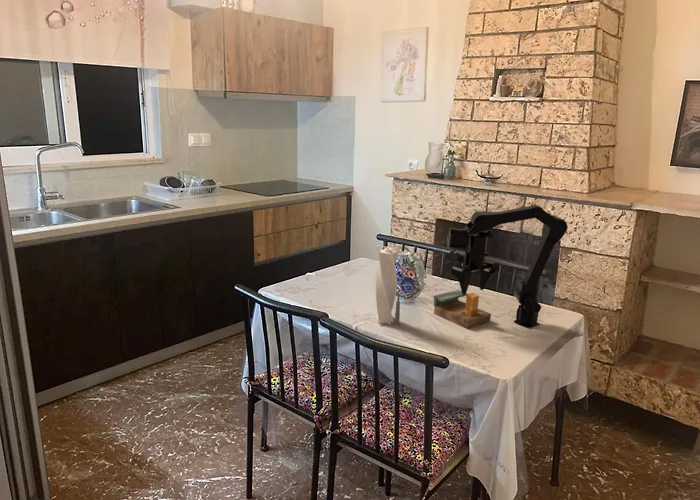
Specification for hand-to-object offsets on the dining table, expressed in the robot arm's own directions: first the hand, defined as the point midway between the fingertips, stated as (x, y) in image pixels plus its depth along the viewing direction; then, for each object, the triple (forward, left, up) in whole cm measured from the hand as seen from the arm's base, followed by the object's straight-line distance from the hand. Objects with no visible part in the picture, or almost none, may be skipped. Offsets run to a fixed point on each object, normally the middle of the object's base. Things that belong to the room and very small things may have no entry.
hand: (472, 292), depth 183 cm
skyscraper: (+16, +26, -12) cm, 33 cm away
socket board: (+4, 0, -11) cm, 12 cm away
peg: (0, 0, -11) cm, 11 cm away
